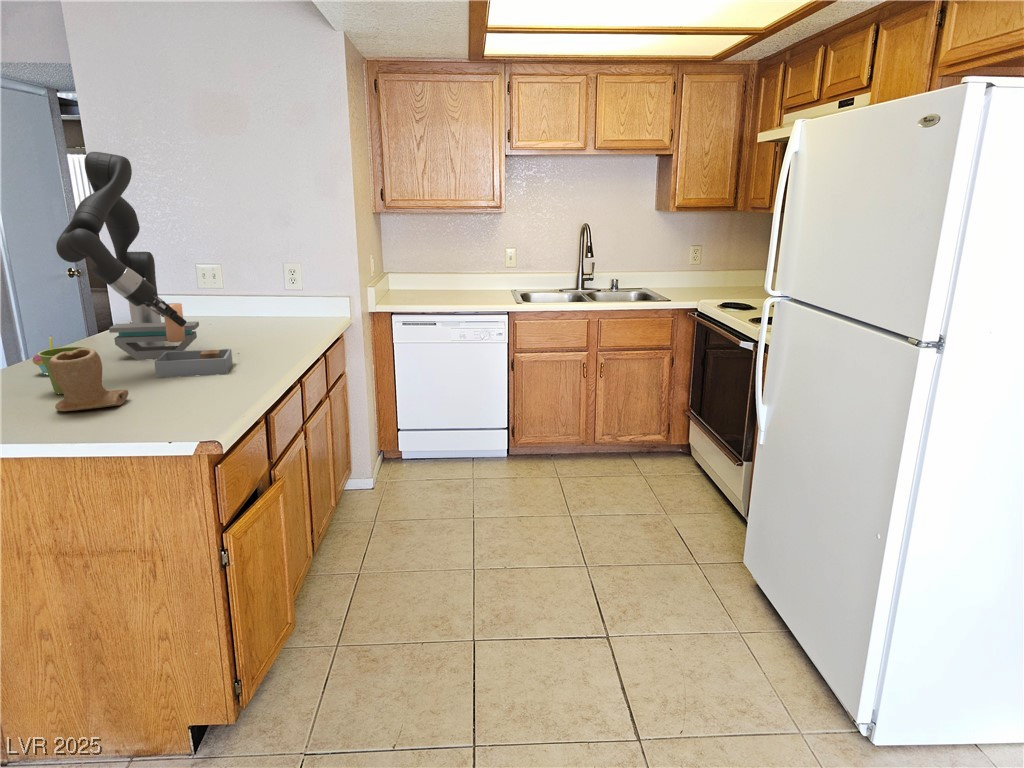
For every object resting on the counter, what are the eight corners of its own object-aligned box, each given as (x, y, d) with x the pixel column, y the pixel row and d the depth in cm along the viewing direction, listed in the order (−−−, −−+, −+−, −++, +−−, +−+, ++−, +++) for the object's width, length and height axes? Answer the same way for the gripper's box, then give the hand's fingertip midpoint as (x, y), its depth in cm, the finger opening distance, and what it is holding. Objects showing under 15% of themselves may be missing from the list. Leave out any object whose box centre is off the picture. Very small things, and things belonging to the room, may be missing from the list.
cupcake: (76, 371, 196) (70, 332, 193) (49, 378, 189) (42, 337, 186) (56, 369, 199) (49, 330, 196) (28, 375, 191) (20, 335, 188)
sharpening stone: (202, 352, 224) (198, 321, 221) (197, 357, 217) (194, 325, 214) (121, 356, 218) (116, 323, 215) (113, 361, 210) (108, 328, 208)
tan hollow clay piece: (50, 418, 154) (38, 356, 150) (61, 405, 164) (51, 346, 160) (123, 412, 159) (114, 352, 155) (130, 399, 170) (121, 342, 166)
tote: (156, 377, 191) (154, 361, 190) (166, 366, 204) (164, 351, 203) (226, 374, 196) (225, 358, 195) (232, 363, 209) (231, 348, 208)
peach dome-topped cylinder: (165, 342, 193) (161, 305, 190) (168, 339, 198) (164, 303, 195) (184, 341, 195) (180, 305, 192) (186, 338, 199) (182, 303, 197)
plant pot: (41, 400, 168) (33, 357, 165) (48, 388, 178) (41, 348, 175) (95, 394, 173) (88, 353, 170) (99, 384, 184) (92, 345, 181)
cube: (201, 369, 198) (200, 353, 197) (204, 366, 203) (202, 350, 201) (219, 369, 200) (217, 353, 198) (221, 365, 204) (220, 349, 203)
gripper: (149, 278, 181) (198, 316, 193) (132, 274, 191) (180, 311, 202) (130, 298, 179) (181, 336, 190) (114, 293, 188) (164, 329, 200)
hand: (180, 323), depth 196 cm, fingers closed on peach dome-topped cylinder, 5 cm apart
